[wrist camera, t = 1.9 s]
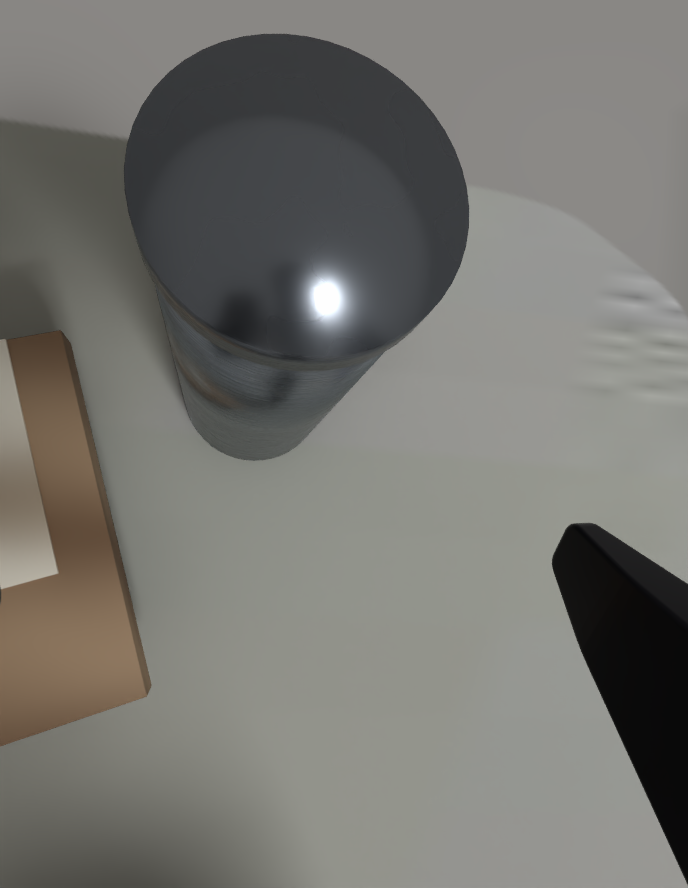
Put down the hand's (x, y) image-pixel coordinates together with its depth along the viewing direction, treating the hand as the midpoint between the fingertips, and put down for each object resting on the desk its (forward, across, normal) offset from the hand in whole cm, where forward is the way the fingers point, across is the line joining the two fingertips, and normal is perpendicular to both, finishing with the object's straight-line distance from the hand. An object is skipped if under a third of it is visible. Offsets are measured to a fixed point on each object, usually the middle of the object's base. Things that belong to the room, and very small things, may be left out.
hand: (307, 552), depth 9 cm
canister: (+12, 0, +4) cm, 13 cm away
